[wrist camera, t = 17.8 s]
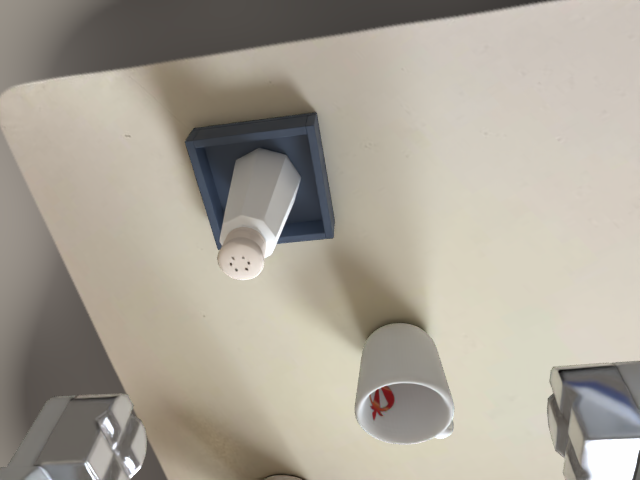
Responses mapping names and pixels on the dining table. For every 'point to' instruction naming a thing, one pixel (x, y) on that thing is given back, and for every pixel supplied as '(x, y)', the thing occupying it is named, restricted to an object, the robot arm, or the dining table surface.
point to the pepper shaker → (256, 211)
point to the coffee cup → (282, 477)
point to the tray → (275, 135)
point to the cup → (403, 387)
